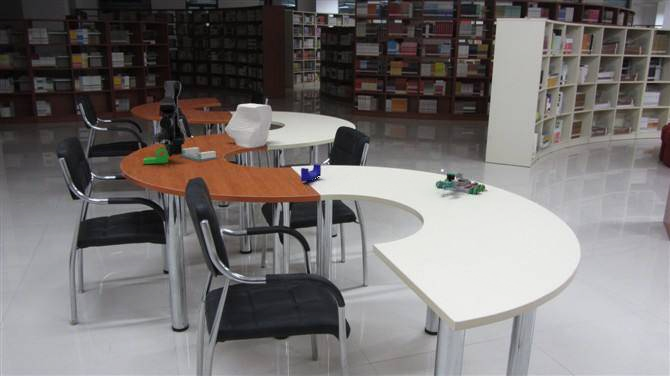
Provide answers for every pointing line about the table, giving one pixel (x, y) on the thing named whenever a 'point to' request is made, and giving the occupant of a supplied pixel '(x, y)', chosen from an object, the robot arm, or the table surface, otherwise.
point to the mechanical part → (159, 157)
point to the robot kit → (460, 184)
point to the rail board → (198, 154)
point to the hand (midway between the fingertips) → (170, 156)
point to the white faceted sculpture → (250, 125)
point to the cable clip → (310, 173)
